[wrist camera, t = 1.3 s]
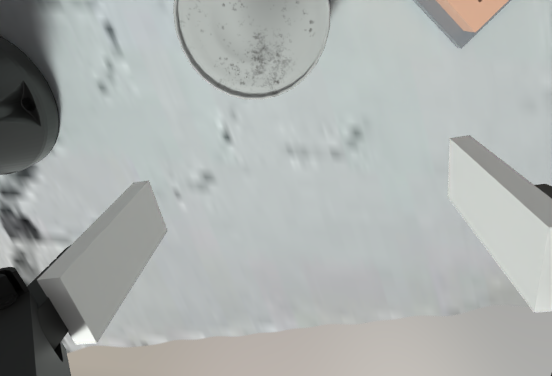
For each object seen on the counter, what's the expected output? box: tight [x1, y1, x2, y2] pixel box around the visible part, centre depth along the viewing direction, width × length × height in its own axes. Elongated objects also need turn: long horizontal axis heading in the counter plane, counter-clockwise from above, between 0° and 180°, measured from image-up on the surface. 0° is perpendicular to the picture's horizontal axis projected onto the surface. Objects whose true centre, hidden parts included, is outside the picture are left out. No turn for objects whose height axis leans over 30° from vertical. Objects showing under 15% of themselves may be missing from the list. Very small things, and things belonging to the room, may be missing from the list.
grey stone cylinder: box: [173, 0, 330, 99], centre depth 27 cm, size 10×10×12 cm
